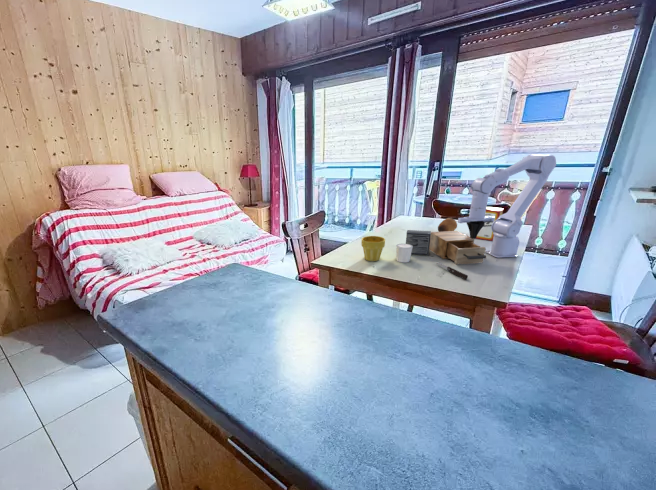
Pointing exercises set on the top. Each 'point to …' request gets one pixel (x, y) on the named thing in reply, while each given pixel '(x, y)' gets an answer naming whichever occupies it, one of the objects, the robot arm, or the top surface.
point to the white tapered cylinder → (403, 252)
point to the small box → (419, 241)
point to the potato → (447, 225)
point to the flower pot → (372, 247)
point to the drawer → (465, 252)
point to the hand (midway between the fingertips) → (472, 238)
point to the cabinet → (445, 241)
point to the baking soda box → (489, 224)
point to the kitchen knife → (452, 271)
